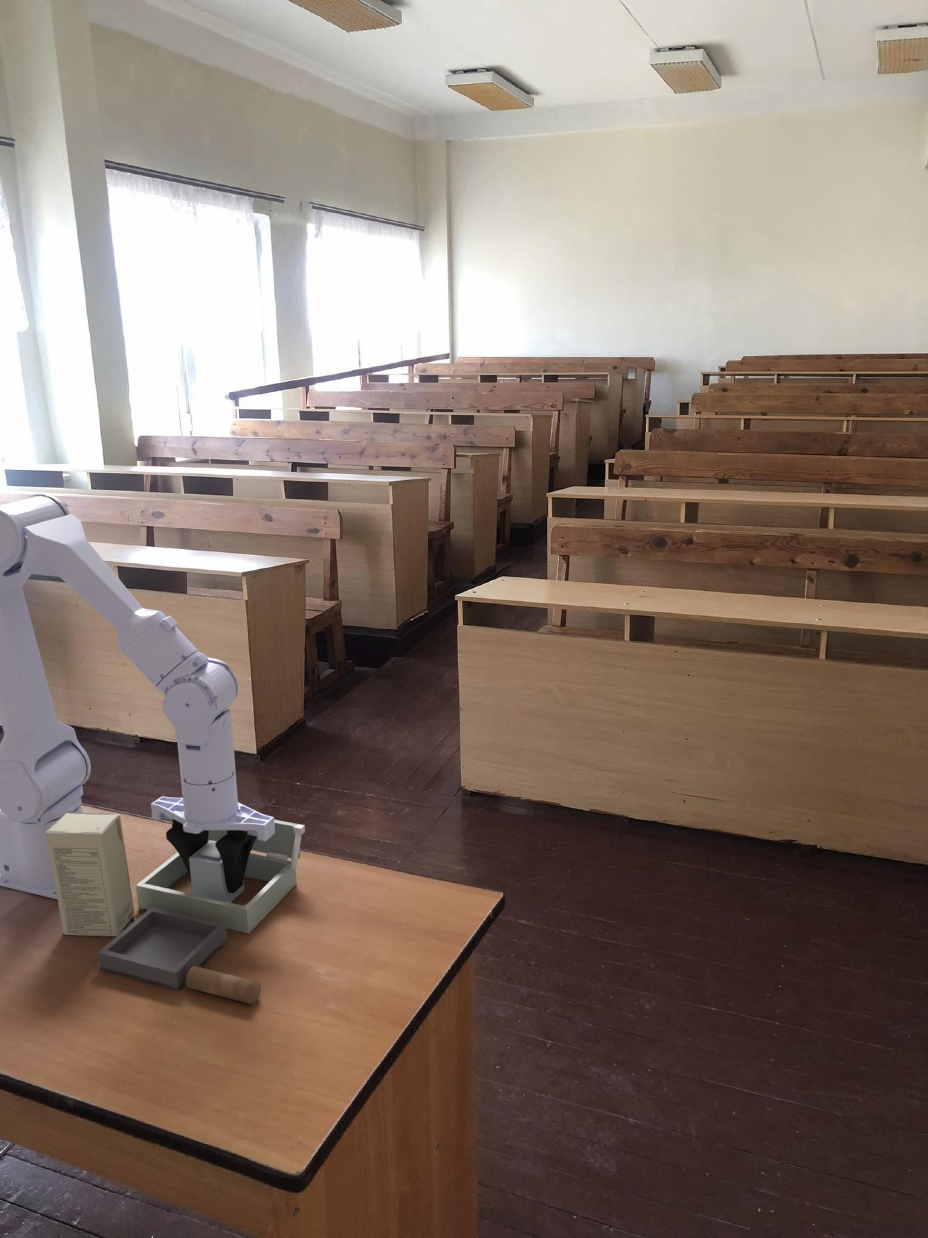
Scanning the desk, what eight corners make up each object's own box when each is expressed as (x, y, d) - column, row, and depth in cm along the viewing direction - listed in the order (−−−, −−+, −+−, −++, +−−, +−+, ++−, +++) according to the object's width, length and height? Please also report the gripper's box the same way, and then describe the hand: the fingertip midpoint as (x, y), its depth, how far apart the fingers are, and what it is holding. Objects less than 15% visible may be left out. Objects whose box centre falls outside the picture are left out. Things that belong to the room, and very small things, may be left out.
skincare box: (136, 914, 101) (124, 813, 98) (118, 938, 97) (105, 833, 94) (79, 911, 102) (65, 810, 99) (59, 935, 98) (44, 830, 95)
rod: (186, 992, 89) (184, 974, 89) (199, 979, 91) (197, 961, 90) (250, 1009, 87) (248, 991, 86) (261, 995, 89) (260, 977, 88)
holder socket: (100, 970, 92) (97, 952, 92) (153, 923, 100) (151, 907, 99) (178, 990, 89) (176, 973, 89) (226, 941, 97) (225, 924, 96)
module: (193, 902, 104) (188, 852, 102) (214, 883, 107) (209, 834, 106) (224, 909, 102) (219, 858, 101) (244, 889, 106) (240, 840, 104)
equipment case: (138, 907, 103) (131, 851, 101) (199, 857, 113) (194, 804, 111) (255, 935, 98) (250, 876, 96) (307, 879, 108) (304, 825, 106)
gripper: (128, 779, 99) (141, 891, 103) (245, 800, 95) (254, 917, 99) (169, 753, 106) (180, 859, 110) (281, 771, 101) (289, 882, 105)
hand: (218, 884), depth 104 cm, fingers closed on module, 4 cm apart
